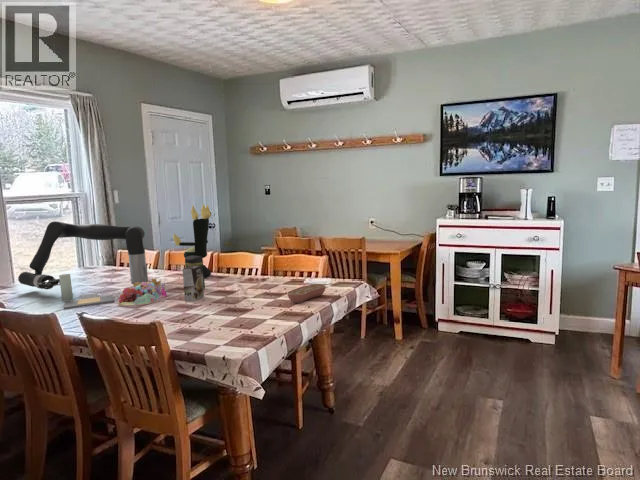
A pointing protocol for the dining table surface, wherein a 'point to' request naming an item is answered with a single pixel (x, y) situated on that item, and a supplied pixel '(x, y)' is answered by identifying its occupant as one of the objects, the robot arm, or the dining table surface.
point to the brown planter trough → (306, 292)
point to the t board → (88, 301)
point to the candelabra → (198, 236)
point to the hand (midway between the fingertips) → (59, 284)
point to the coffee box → (193, 283)
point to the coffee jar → (195, 263)
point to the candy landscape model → (142, 294)
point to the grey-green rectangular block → (66, 287)
